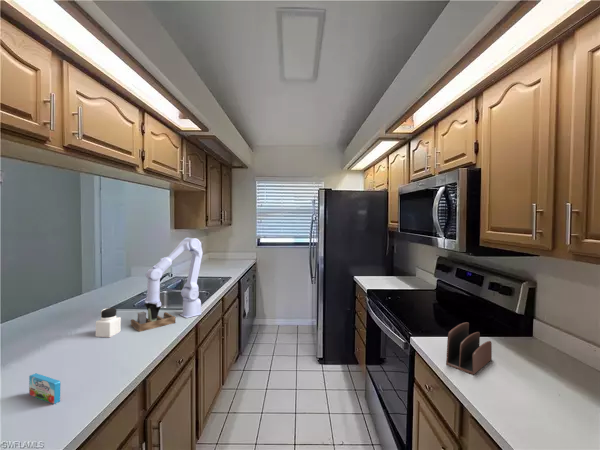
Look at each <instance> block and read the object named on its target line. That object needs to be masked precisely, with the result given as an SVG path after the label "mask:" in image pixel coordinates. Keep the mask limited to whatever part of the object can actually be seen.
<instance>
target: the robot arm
mask: <svg viewBox="0 0 600 450" xmlns="http://www.w3.org/2000/svg"><path fill="white" fill-rule="evenodd" d="M187 251H189V252H190V254H191V260H190V265H189V270H188V273H187V280H186V282H185V283H184V284H183V287H182V289H181V291H180V295H181V297H182V313H180V314H179V315H180V317H183V318H185V319H187V318H188V319H189V318H192V317H197V316H200V315H202V302H201V299H200V298H199V295H200V292H199V289H200V288H199V284H198V279H199V273H200V269H201V263H202V258H203V254H204V253H203V248H202V242H201V241H200V240H199V239H198V238H197V237H195V238H194V237H193V238H192V237H185V238H183V239H182V240H181V241H180V242H179V244H178V245H177V246H176V247H175V248H174V249H173V250H172V251H171V252H170V253H169V254H168V256H164V257H160V258H159V261H157V263H156V264H155V265H152V267H151V268H149V269H148V270H147V271H146V273H145V277H146V278H147V289H146V290H147V291H146V292H147V294H146V297H145V300H144V303H145V304H144V305H145V307H146V310H147V311H148V309H149V308H150V310H151V315H152V319H156V318H157V316H159V312H160V309H161V308H162V302H161V299H160V295H161V294H160V293H161V290H160V288H161V285H160V284H161V283H160V282H161V278H162V277H163V274H164V273H165V272H166V270H168V269H169V268H170V267H171V266H172V264H173V261H174V260H175V259H176V258H177V257H179V256H180V255H181V254H182V253H183V252H187Z"/></svg>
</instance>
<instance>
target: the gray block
mask: <svg viewBox="0 0 600 450" xmlns="http://www.w3.org/2000/svg"><path fill="white" fill-rule="evenodd" d="M136 317H137V322H138V323H140V324H144V323H146V318H147V312H146V311H140V312H137V316H136Z"/></svg>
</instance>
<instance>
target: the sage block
mask: <svg viewBox="0 0 600 450" xmlns="http://www.w3.org/2000/svg"><path fill="white" fill-rule="evenodd" d="M147 319H149V320H151V321H156V319H152V315H151V310H150V308H149V309H148V310H147Z"/></svg>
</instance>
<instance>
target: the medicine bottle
mask: <svg viewBox="0 0 600 450" xmlns="http://www.w3.org/2000/svg"><path fill="white" fill-rule="evenodd" d="M121 323H122V318H121V316H120V317H118V316H117V308H115V307H107V308H104V309H102V310H101V311H100V319H99V320H96V321H95V337H96V338H112V337H114V336H115V335H117V334H119V333H121V331H122V330H121V326H122V324H121Z"/></svg>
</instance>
